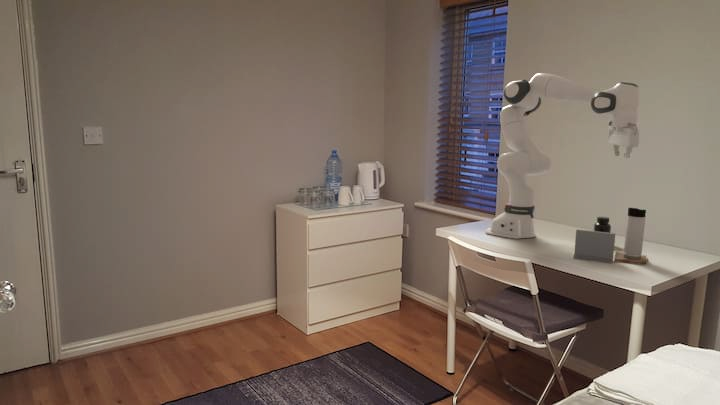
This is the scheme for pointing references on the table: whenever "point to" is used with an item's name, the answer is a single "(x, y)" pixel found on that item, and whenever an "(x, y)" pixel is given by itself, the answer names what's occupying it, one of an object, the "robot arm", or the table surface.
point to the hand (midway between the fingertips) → (621, 156)
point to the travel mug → (634, 233)
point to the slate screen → (594, 246)
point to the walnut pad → (621, 258)
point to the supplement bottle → (602, 225)
